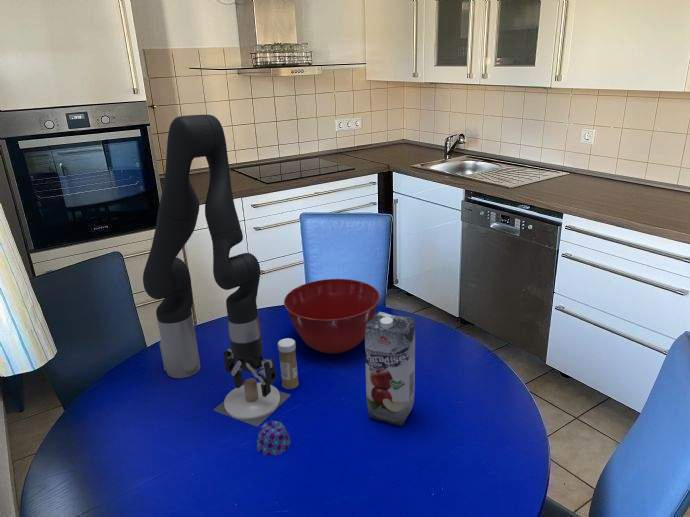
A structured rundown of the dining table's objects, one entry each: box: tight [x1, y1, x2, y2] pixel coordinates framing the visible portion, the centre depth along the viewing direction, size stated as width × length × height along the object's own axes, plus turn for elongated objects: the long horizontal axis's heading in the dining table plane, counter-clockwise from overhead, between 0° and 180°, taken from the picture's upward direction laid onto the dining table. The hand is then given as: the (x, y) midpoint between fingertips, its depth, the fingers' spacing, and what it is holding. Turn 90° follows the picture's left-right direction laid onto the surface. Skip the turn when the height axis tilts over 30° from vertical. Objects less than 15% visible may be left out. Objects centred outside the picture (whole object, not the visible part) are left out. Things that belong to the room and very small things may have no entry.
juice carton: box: [364, 311, 416, 427], centre depth 125 cm, size 9×10×27 cm
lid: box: [223, 377, 280, 421], centre depth 135 cm, size 14×14×6 cm
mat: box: [212, 390, 292, 428], centre depth 136 cm, size 14×14×1 cm
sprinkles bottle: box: [277, 337, 299, 390], centre depth 140 cm, size 5×5×14 cm
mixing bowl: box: [283, 278, 381, 354], centre depth 161 cm, size 28×28×16 cm
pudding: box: [256, 420, 292, 457], centre depth 120 cm, size 12×12×5 cm
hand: (252, 390), depth 134 cm, fingers open, 8 cm apart
